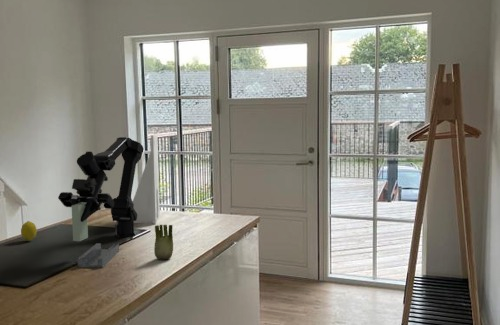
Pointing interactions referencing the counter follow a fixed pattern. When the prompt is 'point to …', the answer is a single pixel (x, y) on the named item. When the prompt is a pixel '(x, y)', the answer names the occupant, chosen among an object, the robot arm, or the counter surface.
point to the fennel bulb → (163, 242)
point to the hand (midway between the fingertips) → (77, 221)
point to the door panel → (79, 222)
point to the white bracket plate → (148, 188)
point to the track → (97, 256)
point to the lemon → (28, 230)
